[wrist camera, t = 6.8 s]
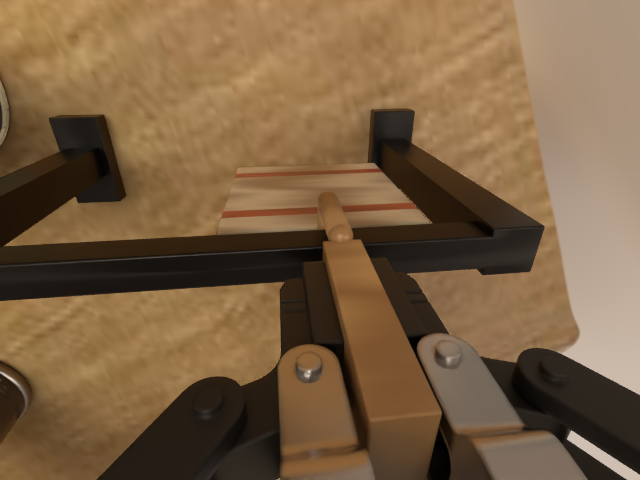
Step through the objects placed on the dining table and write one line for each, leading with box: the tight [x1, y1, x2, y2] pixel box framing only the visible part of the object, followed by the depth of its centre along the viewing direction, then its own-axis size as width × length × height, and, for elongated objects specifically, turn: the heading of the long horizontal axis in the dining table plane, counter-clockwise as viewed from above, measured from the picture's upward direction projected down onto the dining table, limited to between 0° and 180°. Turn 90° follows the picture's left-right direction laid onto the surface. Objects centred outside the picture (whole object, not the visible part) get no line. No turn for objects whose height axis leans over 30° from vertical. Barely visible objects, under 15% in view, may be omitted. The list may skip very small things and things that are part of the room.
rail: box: [0, 109, 545, 301], centre depth 19 cm, size 25×6×17 cm, turn 90°
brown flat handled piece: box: [216, 163, 442, 480], centre depth 15 cm, size 9×4×19 cm, turn 90°
